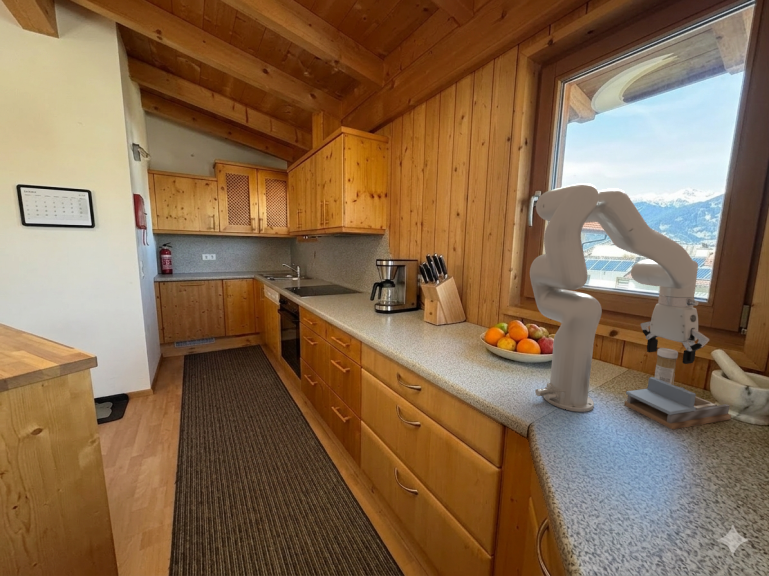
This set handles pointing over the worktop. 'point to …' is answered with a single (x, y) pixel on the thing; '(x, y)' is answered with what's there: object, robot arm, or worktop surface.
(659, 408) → the lid
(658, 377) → the sprinkles bottle
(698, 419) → the shallow wooden box
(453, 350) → the worktop surface
